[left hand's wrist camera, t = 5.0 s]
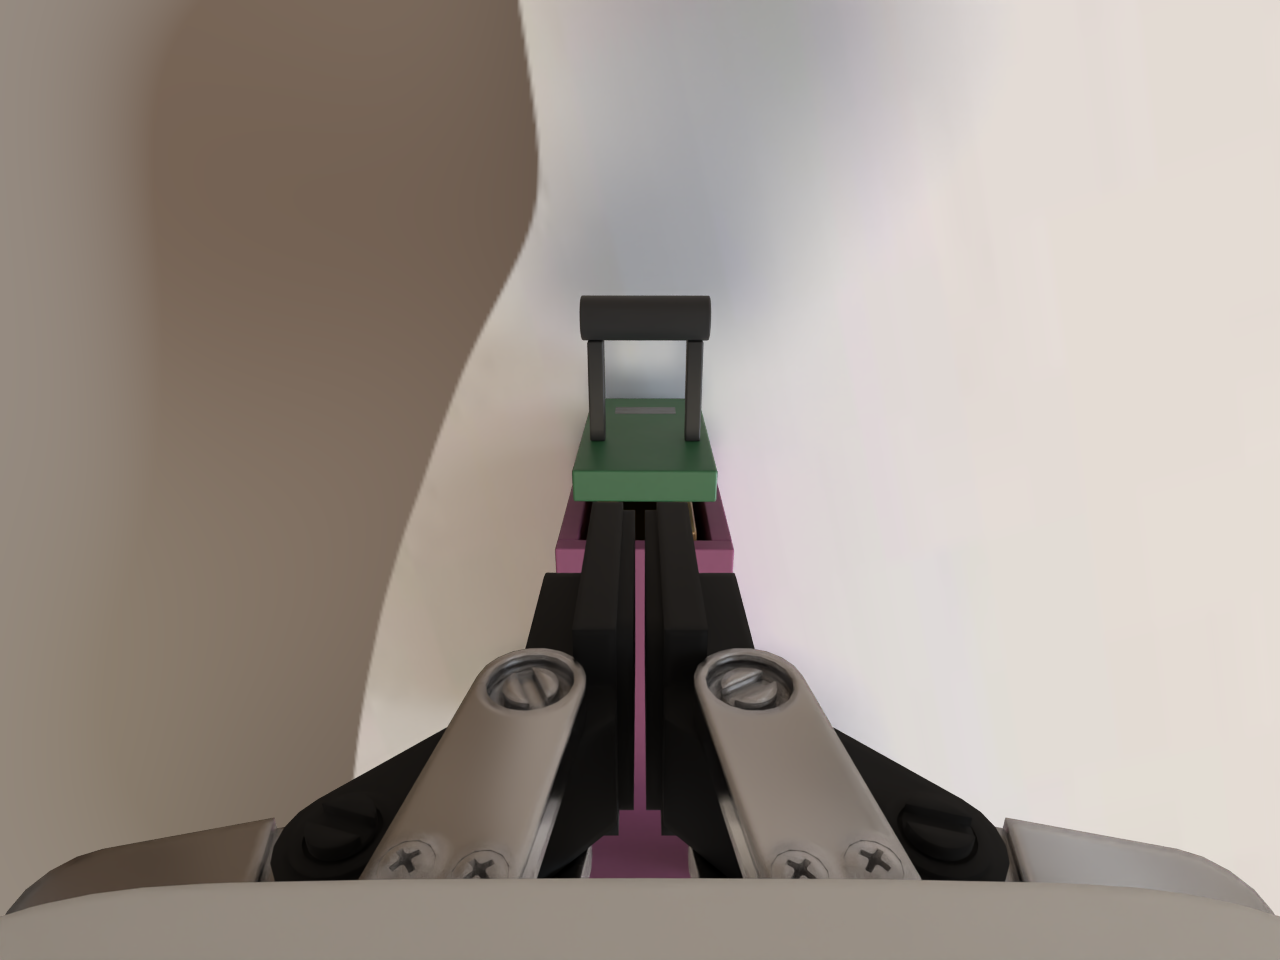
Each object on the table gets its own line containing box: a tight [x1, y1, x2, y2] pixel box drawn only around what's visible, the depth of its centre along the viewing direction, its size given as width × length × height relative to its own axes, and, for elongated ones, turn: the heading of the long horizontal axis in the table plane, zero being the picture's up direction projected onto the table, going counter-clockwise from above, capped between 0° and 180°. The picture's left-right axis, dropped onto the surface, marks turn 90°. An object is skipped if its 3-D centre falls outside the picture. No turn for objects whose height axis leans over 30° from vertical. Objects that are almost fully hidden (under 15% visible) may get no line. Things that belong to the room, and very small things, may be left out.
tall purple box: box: [555, 484, 734, 878], centre depth 33 cm, size 18×6×11 cm, turn 0°
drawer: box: [572, 296, 718, 541], centre depth 30 cm, size 22×5×10 cm, turn 0°
